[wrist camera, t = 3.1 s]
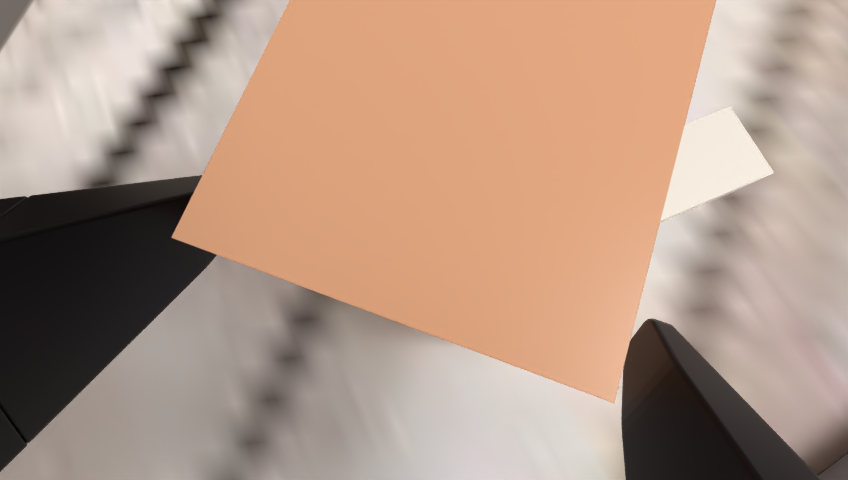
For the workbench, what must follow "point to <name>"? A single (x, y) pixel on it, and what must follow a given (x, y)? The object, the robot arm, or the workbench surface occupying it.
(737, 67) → the workbench surface
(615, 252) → the terracotta brick
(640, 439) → the robot arm
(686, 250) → the workbench surface
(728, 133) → the off-white brick
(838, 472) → the charcoal board
